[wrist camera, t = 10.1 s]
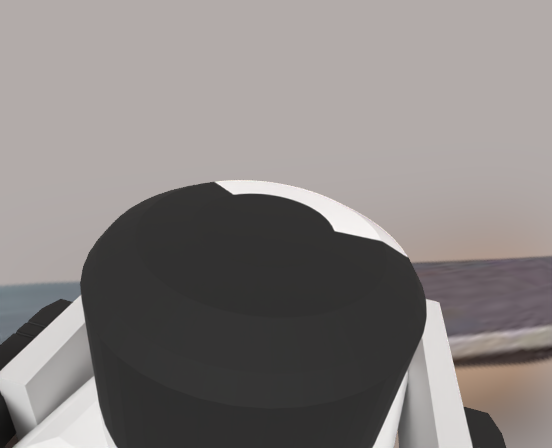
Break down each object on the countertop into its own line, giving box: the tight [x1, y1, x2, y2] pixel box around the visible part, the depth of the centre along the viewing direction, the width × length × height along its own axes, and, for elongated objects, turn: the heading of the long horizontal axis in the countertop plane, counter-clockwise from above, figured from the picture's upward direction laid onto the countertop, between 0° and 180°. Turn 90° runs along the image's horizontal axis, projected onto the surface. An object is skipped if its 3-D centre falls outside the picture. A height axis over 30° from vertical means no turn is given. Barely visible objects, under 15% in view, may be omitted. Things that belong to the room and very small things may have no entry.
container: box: [13, 180, 427, 448], centre depth 10 cm, size 8×8×13 cm
